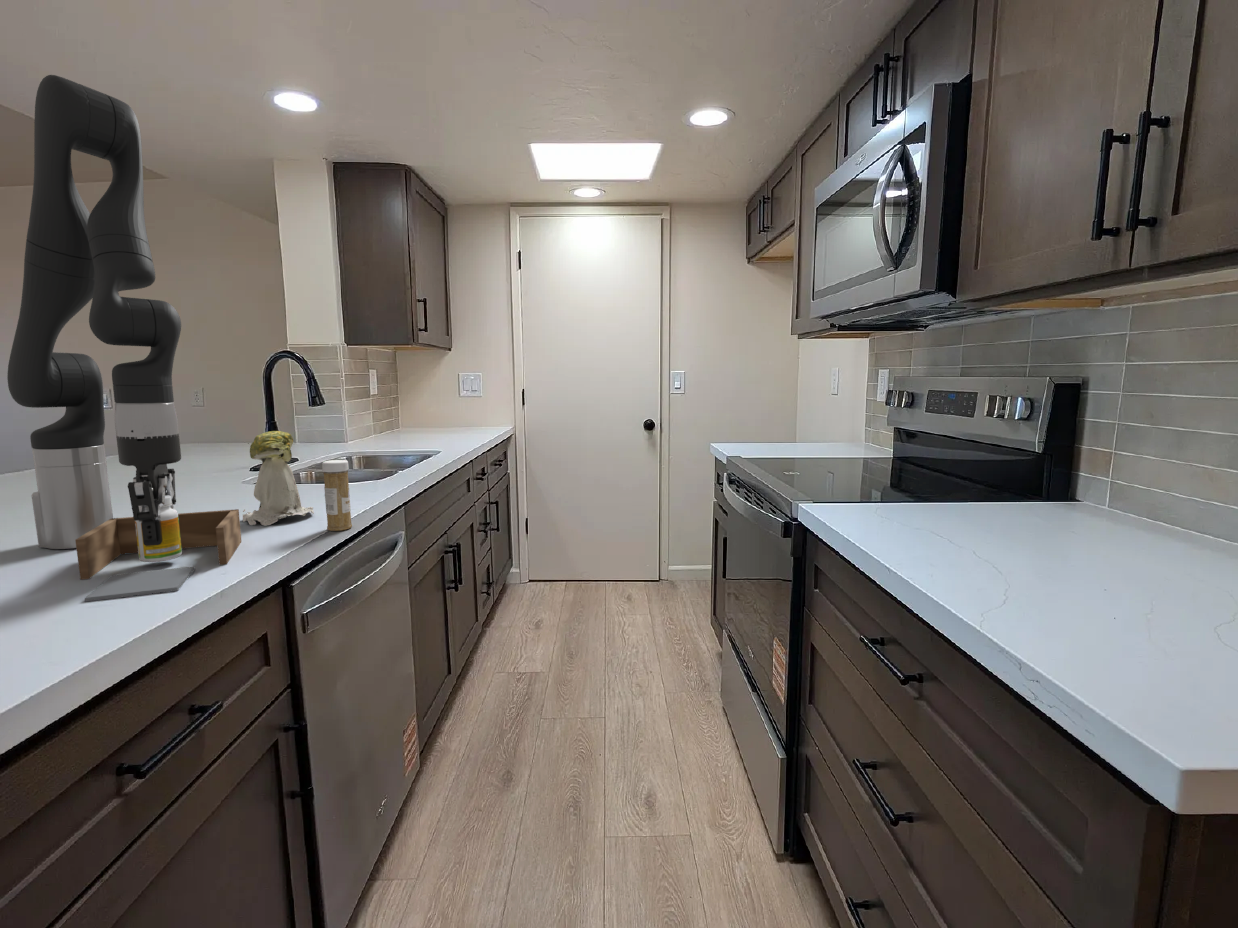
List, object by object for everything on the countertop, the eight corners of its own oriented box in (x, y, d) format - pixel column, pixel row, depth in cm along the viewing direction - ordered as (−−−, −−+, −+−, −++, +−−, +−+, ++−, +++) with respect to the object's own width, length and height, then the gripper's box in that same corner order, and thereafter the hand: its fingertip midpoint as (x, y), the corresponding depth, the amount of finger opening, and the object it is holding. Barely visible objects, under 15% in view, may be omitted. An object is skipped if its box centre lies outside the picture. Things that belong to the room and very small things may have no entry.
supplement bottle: (190, 554, 94) (184, 495, 93) (154, 564, 89) (147, 502, 88) (167, 551, 96) (161, 492, 94) (130, 560, 91) (123, 499, 89)
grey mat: (112, 577, 86) (112, 574, 86) (194, 569, 90) (194, 566, 90) (85, 601, 77) (84, 597, 77) (177, 590, 81) (177, 587, 81)
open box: (115, 553, 98) (110, 518, 97) (241, 541, 105) (238, 509, 104) (80, 579, 85) (75, 539, 84) (226, 564, 93) (223, 527, 92)
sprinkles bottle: (355, 528, 115) (351, 461, 113) (331, 532, 112) (326, 463, 110) (347, 524, 118) (343, 458, 116) (323, 528, 115) (318, 460, 113)
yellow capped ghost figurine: (327, 515, 126) (321, 430, 123) (268, 528, 115) (260, 435, 112) (291, 509, 131) (285, 427, 129) (231, 521, 120) (223, 432, 117)
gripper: (133, 428, 94) (144, 530, 97) (98, 437, 82) (112, 555, 84) (189, 427, 98) (198, 526, 100) (164, 436, 85) (175, 549, 87)
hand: (159, 539), depth 92 cm, fingers closed on supplement bottle, 5 cm apart
